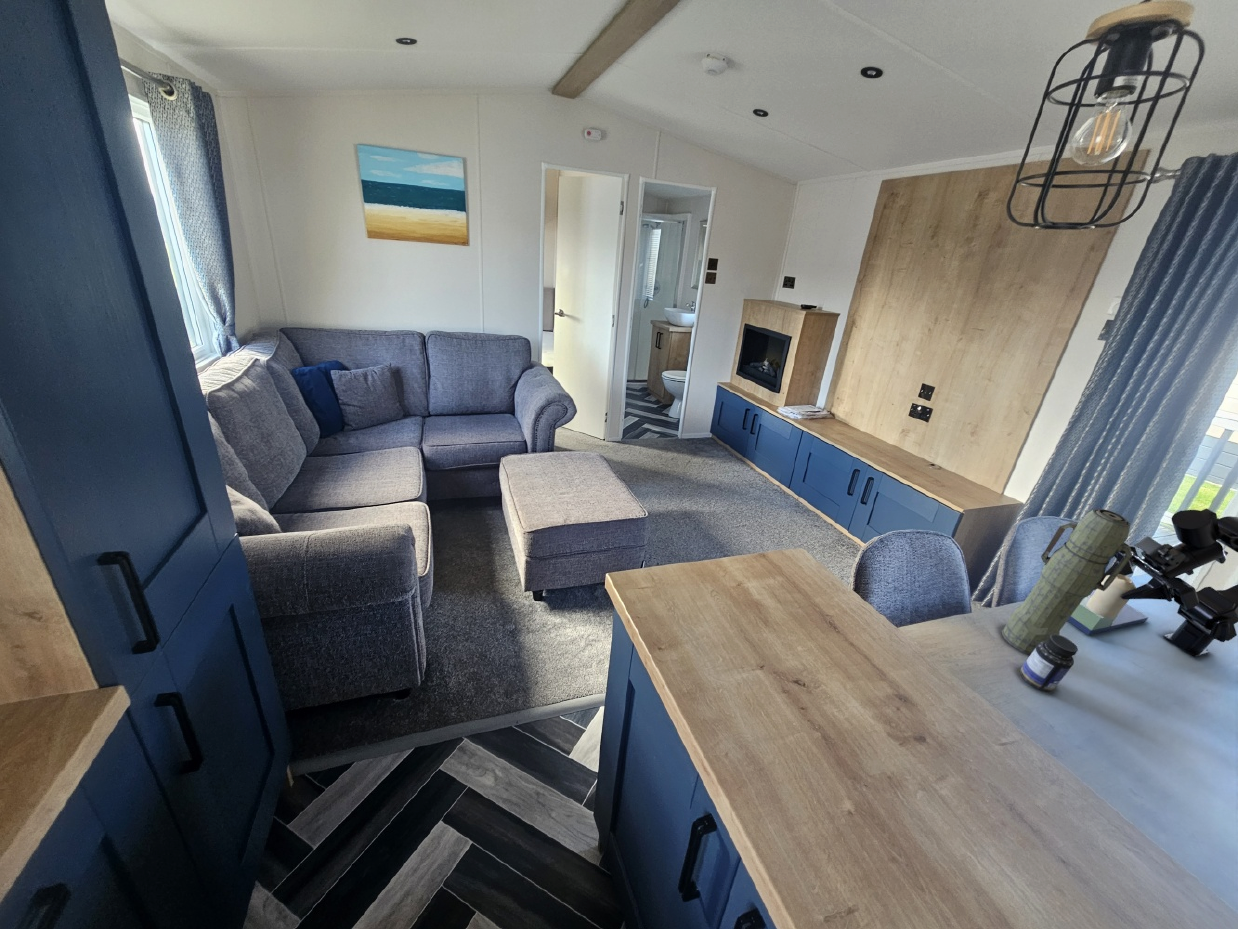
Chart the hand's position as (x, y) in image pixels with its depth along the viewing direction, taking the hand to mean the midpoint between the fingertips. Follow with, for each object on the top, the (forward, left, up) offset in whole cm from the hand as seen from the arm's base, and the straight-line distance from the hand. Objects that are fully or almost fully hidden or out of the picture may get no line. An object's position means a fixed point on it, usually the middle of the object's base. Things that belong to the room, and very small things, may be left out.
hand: (1110, 588), depth 119 cm
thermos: (+20, -1, -14) cm, 24 cm away
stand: (-13, -3, -14) cm, 19 cm away
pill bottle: (+29, +8, -14) cm, 33 cm away
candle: (-1, +1, -7) cm, 7 cm away
